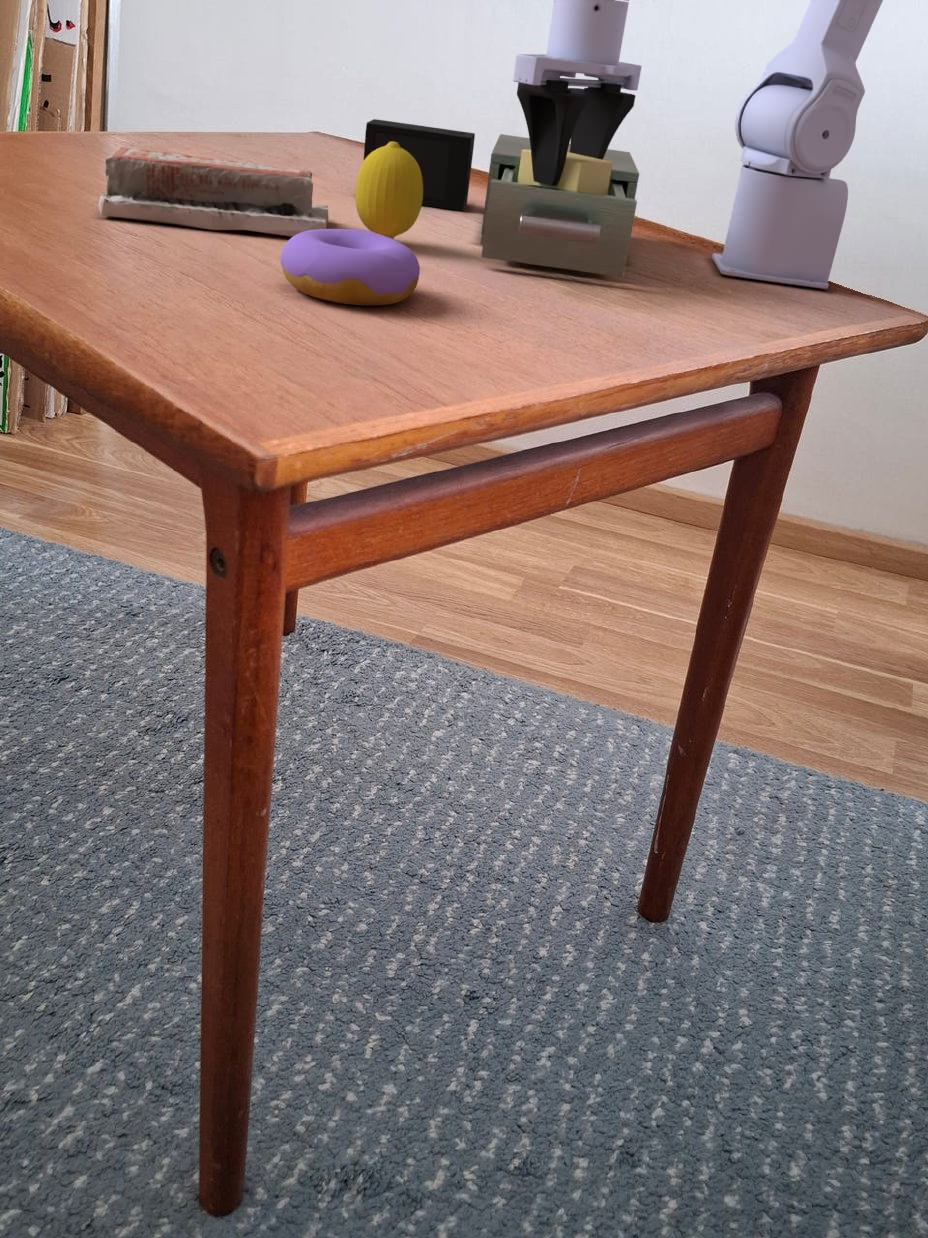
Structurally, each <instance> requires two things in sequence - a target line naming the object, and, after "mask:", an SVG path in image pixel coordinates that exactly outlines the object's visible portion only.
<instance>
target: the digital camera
mask: <svg viewBox="0 0 928 1238" xmlns="http://www.w3.org/2000/svg"><path fill="white" fill-rule="evenodd" d="M364 135H365V137H364V147H363V161H364V160H365V159H366V157H367V156H368V155H369V154H370V153H372V152H373V151H374V150H376V149H378V148H380V147H383V146H386V145H387V144H388V143H389V142H397V143H398V144H399V145H400V147H401V148H402V149H404V150H406V151H407V152H408V153H410V154H411V155H412V156H413V158H414V159H415V160H416V162H417V163H418V165H419V168H420V171H421V175H422V181H423V199H422V205H421V206H425V207H433V208H440V209H446V210H454V211H460V212H461V211H462V212H463V211H464V210H465V208H466V207H467V205H468V199H469V198H468V197H469V190H470V189H469V188H470V183H471V182H470V181H471V172H472V165H473V156H474V149H475V148H474V147H475V138H476V133H474V132H468V131H462V130H456V129H455V130H453V129H447V128H440V127H432V126H426V125H420V124H412V123H405V122H397V121H390V120H383V119H376V118H373V119H371V120H369V121H367V122H366V124H365V134H364Z"/></svg>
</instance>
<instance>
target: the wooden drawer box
mask: <svg viewBox="0 0 928 1238" xmlns="http://www.w3.org/2000/svg"><path fill="white" fill-rule="evenodd" d="M523 149H531V147H530V139H529V137H524V136H517V135H510V134H502V133H500V134H499V136H498V138H497V140H496V143H495V145H494V147H493V149H492V152H491V153H490V160H489V161H490V163H489V169H488V177H487V186H486V194H485V200H484V201H485V202H484V208H483V209H484V210H483V218H482V225H481V234H480V242H479V244H480V245H481V246H483V240H484V232H485V224H486V216H487V208H488V200H489V192H490V184H491V180H492V179H495V180H502V177H503V174H504V170H505V167H506V165H512V166H519V167H520V161H521V154H522V150H523ZM567 152H570V143H569V147H568V151H567ZM603 160H606V161H610V162H612V169H611V175H610V179H612V180H619V181H621V185H622V188H623V191H624V194H625V197H626V198H630V199H636V195H637V189H638V183H639V179H640V172H639V169H638V167H637V165H636V163H635V161H634V158H633V156H632V154H631V152H629V151H623V150H616V149H609V148H608V149H607V151H606V153H605V156H604V158H603Z"/></svg>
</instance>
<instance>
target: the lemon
mask: <svg viewBox="0 0 928 1238" xmlns="http://www.w3.org/2000/svg"><path fill="white" fill-rule="evenodd" d="M354 197H355V206H356V211H357V215H358V217H359V219H360V220H361V223H362V224H363V225H364V227H366V229H368V231H370V232H374V233H377V234H380V235H383V236H386V237H389V238H392V239H395V237H397V236H400V235H403V234H404V233H406V232H407V231H409V230H410V229H412V227H413V226H414V224H415V223H416V222H417V220H418V218H419V215H420V213H421V210H422V206H423V205H422V199H423V181H422V175H421V171H420V168H419V165H418V163H417V162H416V160H415V159H414V158H413V156H412V155H411V154H410V153H408V152H407V151H406V150H404V149H402V148H401V147H400V145H399V144H398V143H397V142H389V143H388V144H387V145H386V146H383V147H380V148H378V149H376V150H374V151H373V152H372V153H370V154H369V155H368V156H367V157H366V159H365V160H364V159H363V161H362V163H361V165H360V168H359V170H358V174H357V178H356V182H355V191H354Z"/></svg>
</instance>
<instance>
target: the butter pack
mask: <svg viewBox="0 0 928 1238" xmlns="http://www.w3.org/2000/svg"><path fill="white" fill-rule="evenodd" d="M611 169H612V162H610V161H606V160H601V159H597V158H592V157H588V156H583V155H579V154H574V153H570V152H567V156H566V160H565V165H564V169H563V172H562V175H561V178H560V180H559V183H558V185H557V186H551V185H547V184H543V183H539V182H534V180H533V170H532V158H531V149H523V150H522V154H521V161H520V169H519V176H518V183H524V184H531V185H538V186H545V187H552V188H559V189H566V190H573V191H581V192H588V193H595V194H602V195H607V192H608V186H609V180H610V175H611Z"/></svg>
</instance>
